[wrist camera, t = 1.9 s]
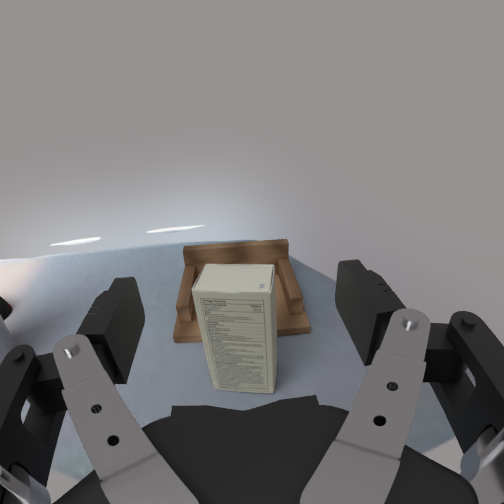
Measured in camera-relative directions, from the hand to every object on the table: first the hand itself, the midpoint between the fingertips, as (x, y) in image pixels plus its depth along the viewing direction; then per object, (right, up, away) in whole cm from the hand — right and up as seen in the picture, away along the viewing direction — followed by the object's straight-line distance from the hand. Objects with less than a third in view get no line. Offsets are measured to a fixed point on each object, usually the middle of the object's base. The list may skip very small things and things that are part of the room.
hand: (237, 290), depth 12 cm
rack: (-1, -6, +30) cm, 30 cm away
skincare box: (0, -12, +18) cm, 21 cm away
